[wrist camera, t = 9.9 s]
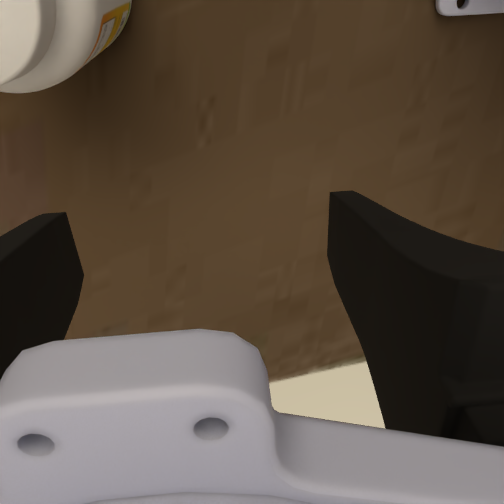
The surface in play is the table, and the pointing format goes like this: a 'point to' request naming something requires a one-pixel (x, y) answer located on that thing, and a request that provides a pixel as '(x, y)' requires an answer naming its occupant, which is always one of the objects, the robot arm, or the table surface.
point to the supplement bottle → (54, 39)
